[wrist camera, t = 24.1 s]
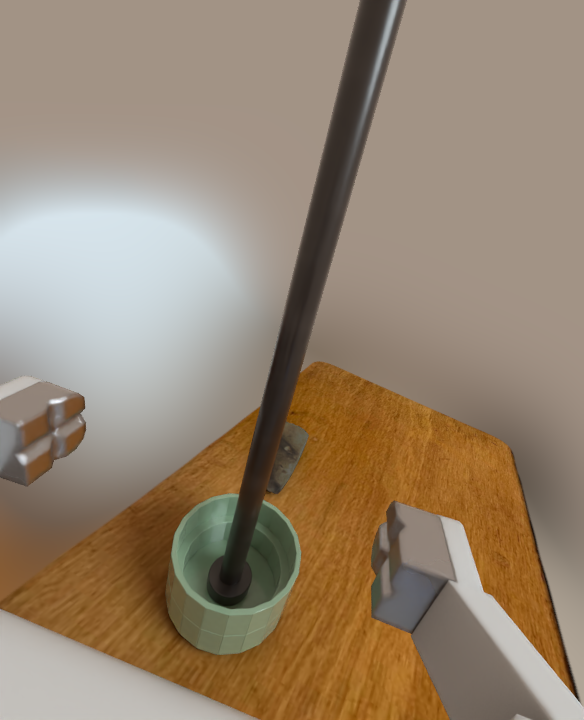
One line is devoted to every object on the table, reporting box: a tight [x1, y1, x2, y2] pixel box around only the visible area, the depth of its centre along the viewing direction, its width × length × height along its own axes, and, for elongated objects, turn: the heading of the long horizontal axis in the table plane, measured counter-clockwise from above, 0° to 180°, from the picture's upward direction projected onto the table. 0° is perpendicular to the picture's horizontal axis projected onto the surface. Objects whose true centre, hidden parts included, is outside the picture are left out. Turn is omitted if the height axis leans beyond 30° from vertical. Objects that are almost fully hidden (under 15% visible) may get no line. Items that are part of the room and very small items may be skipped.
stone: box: [266, 422, 308, 494], centre depth 44 cm, size 13×5×2 cm, turn 171°
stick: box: [207, 0, 407, 606], centre depth 21 cm, size 4×4×38 cm
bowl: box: [165, 494, 301, 655], centre depth 28 cm, size 10×10×6 cm
